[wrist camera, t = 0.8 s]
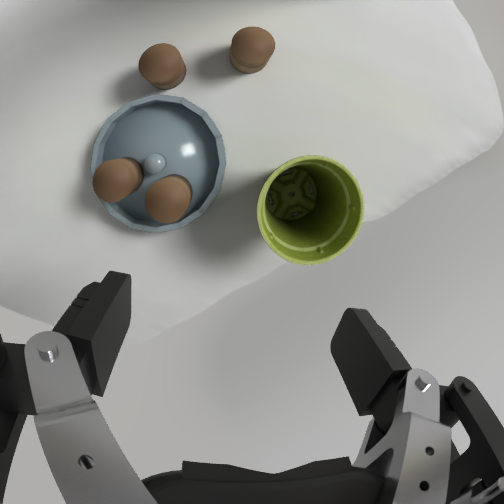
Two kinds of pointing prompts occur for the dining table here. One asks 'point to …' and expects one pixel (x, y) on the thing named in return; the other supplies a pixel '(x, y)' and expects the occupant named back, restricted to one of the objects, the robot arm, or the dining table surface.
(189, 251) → the dining table surface
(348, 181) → the plant pot
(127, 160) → the seated bead
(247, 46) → the pile bead
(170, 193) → the seated bead
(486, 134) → the dining table surface
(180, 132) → the grey-blue shallow round dish
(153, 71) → the brown rounded dome
